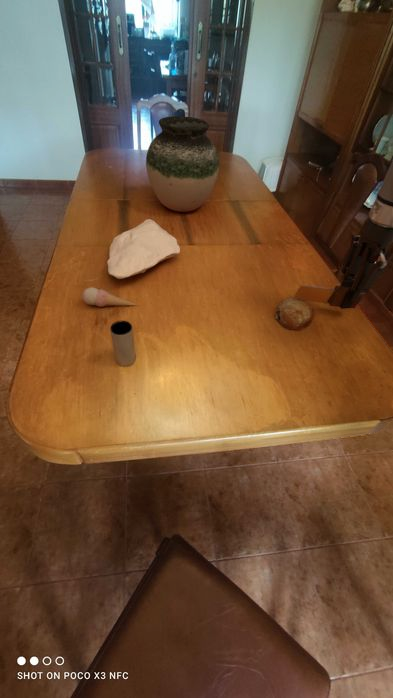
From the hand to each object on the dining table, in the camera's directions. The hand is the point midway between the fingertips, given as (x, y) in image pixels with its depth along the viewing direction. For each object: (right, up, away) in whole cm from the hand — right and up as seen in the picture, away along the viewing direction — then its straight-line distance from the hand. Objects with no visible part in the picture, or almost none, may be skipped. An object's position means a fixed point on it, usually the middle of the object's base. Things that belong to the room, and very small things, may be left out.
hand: (342, 303), depth 88 cm
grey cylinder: (-57, -15, -13) cm, 60 cm away
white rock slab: (-58, +16, +16) cm, 62 cm away
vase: (-47, +48, +47) cm, 82 cm away
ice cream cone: (-64, 0, 0) cm, 64 cm away
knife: (-6, 0, -2) cm, 6 cm away
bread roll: (-13, -4, +1) cm, 14 cm away
